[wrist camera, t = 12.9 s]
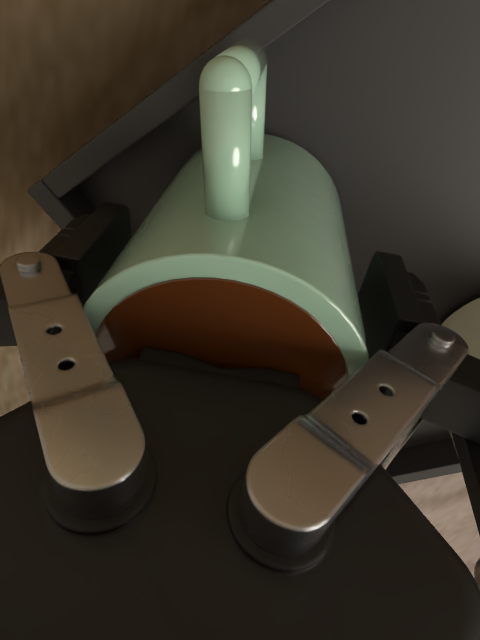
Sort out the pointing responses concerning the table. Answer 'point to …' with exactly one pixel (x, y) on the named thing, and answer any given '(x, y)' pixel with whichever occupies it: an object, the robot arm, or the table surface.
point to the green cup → (239, 250)
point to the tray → (335, 145)
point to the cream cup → (467, 329)
